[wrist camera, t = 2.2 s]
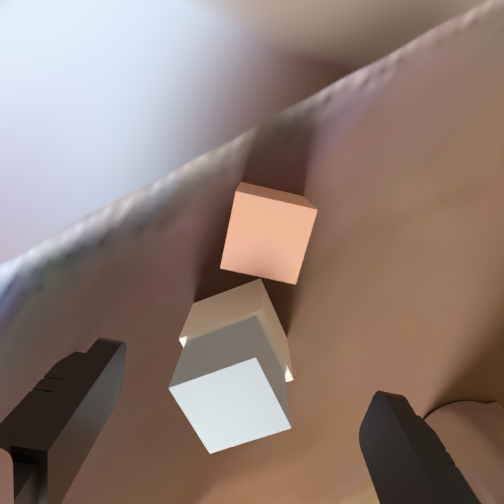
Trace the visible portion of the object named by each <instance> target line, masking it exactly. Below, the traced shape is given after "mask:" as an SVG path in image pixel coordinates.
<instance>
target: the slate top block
mask: <svg viewBox="0 0 504 504" xmlns="http://www.w3.org/2000/svg"><path fill="white" fill-rule="evenodd" d="M169 390H170V391H171V393H172V395H173V396H174V398H175V399H176V401H177V403H178V404H179V406H180V407H181V409H182V410H183V412H184V414H185V415H186V417H187V418H188V420H189V421H190V423H191V425H192V426H193V428H194V429H195V431H196V433H197V434H198V436H199V437H200V439H201V440H202V442H203V444H204V445H205V447H206V448H207V450H208V451H209V453H213V452H217V451H220V450H223V449H226V448H229V447H233V446H236V445H239V444H242V443H245V442H249V441H252V440H255V439H258V438H261V437H265V436H268V435H271V434H274V433H278V432H281V431H284V430H287V429H290V428H292V427H291V419H290V411H289V402H288V394H287V386H286V378H285V374H284V372H283V370H282V368H281V366H280V364H279V361H278V359H277V357H276V355H275V353H274V351H273V349H272V347H271V345H270V343H269V341H268V339H267V337H266V334H265V332H264V330H263V328H262V326H261V324H260V322H259V320H258V318H257V316H256V315H255V316H253V317H250V318H247V319H245V320H242V321H239V322H237V323H234V324H231V325H229V326H226V327H223V328H220V329H218V330H215V331H212V332H210V333H207V334H204V335H202V336H199V337H196V338H194V339H191V340H188V341H186V343H185V345H184V348H183V351H182V353H181V356H180V359H179V361H178V364H177V367H176V369H175V372H174V375H173V377H172V380H171V383H170V385H169Z"/></svg>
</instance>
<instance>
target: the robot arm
mask: <svg viewBox="0 0 504 504" xmlns="http://www.w3.org/2000/svg"><path fill="white" fill-rule="evenodd" d="M125 353H126V343H125V342H121V341H116V340H111V339H105V338H99V339H97V340H96V342H95V343H94V344H93V345H92V346H91V348H90V349H89V350H88V351H87V352H86V353H81V352H74V353H72V354H70V355H69V356H67V357H65V358H64V359H62V360H60V361H58V362H57V363H56V364H55V365H54V366H53V367H52V368H51V370H50V371H49V372H48V373H47V374H46V375H45V376H44V379H41V380H40V381H39V382H38V384H37V385H36V386H35V387H34V388H33V390H32V392H31V391H30V392H29V393H28V394H27V395H26V396H25V398H24V399H23V400H22V401H21V402H20V403H19V404H18V405H17V406H16V407H15V408H14V409H13V411H12V412H11V413H10V414H9V415H8V416H7V417H6V418H5V419H4V420H3V421H2V422H1V423H0V504H61V502H62V501H63V499H64V497H65V495H66V493H67V491H68V490H69V488H70V486H71V484H72V482H73V480H74V479H75V477H76V475H77V473H78V471H79V469H80V468H81V466H82V464H83V462H84V460H85V459H86V457H87V455H88V453H89V451H90V449H91V448H92V446H93V444H94V442H95V440H96V438H97V437H98V435H99V433H100V431H101V429H102V427H103V426H104V424H105V422H106V420H107V418H108V416H109V415H110V413H111V411H112V409H113V407H114V406H115V404H116V401H117V399H118V397H119V394H120V390H121V387H122V381H123V372H124V362H125ZM359 442H360V447H361V451H362V453H363V456H364V459H365V462H366V465H367V468H368V470H369V473H370V476H371V479H372V482H373V485H374V487H375V490H376V493H377V496H378V499H379V501H380V504H504V408H503V407H502V406H501V405H500V404H499V403H498V402H493V403H488V404H485V403H480V402H476V401H461V402H455V403H451V404H447V405H445V406H443V407H441V408H438V409H437V410H435V411H434V412H432V413H431V414H430V415H429V416H428V417H427V418H426V419H425V420H423V419H422V418H421V417H420V416H417V415H416V414H415V412H414V411H413V409H412V407H411V406H410V404H409V402H408V401H407V399H406V398H405V397H404V396H403V395H399V394H393V393H388V392H383V391H377V392H376V393H375V394H374V396H373V398H372V401H371V403H370V405H369V408H368V410H367V412H366V415H365V417H364V419H363V421H362V424H361V426H360V431H359Z"/></svg>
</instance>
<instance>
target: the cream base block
mask: <svg viewBox="0 0 504 504" xmlns="http://www.w3.org/2000/svg"><path fill="white" fill-rule="evenodd" d="M255 315H256V316H257V318H258V320H259V322H260V324H261V326H262V328H263V330H264V332H265V334H266V337H267V339H268V341H269V343H270V345H271V347H272V349H273V351H274V353H275V355H276V357H277V359H278V361H279V364H280V366H281V368H282V370H283V372H284V374H285V378H286V382H288V381H291V380H293V373H292V367H291V361H290V355H289V348H288V342H287V337H286V335H285V333H284V330H283V328H282V326H281V323H280V321H279V319H278V317H277V314H276V312H275V310H274V307H273V305H272V303H271V301H270V298H269V296H268V294H267V291H266V289H265V287H264V285H263V282H262V280H261V278H260V279H257V280H254V281H252V282H249V283H246V284H244V285H241V286H238V287H236V288H233V289H230V290H228V291H225V292H222V293H220V294H217V295H214V296H212V297H209V298H206V299H204V300H201V301H198V302H196V303H193V306H192V308H191V311H190V313H189V315H188V318H187V320H186V323H185V325H184V327H183V330H182V332H181V335H180V337H179V340H180V342H181V344H182V346H183V347H184V345H185V343H186V341H188V340H191V339H194V338H196V337H199V336H202V335H204V334H207V333H210V332H212V331H215V330H218V329H220V328H223V327H226V326H229V325H231V324H234V323H237V322H239V321H242V320H245V319H247V318H250V317H253V316H255Z"/></svg>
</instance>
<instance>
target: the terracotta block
mask: <svg viewBox="0 0 504 504" xmlns="http://www.w3.org/2000/svg"><path fill="white" fill-rule="evenodd" d="M316 214H317V209H316V208H315V207H314V206H313V205H312V204H311V203H310V202H309V201H308V200H307V199H306V198H305V197H304V196H301V195H297V194H292V193H288V192H284V191H279V190H275V189H270V188H266V187H262V186H257V185H253V184H249V183H244V182H240V184H239V186H238V188H237V190H236V192H235V197H234V202H233V207H232V212H231V217H230V222H229V227H228V232H227V236H226V241H225V246H224V251H223V256H222V261H221V266H220V269H225V270H230V271H234V272H239V273H244V274H249V275H253V276H258V277H263V278H267V279H272V280H277V281H282V282H286V283H291V284H296V282H297V279H298V275H299V272H300V268H301V265H302V262H303V258H304V255H305V251H306V248H307V245H308V241H309V238H310V234H311V231H312V227H313V224H314V221H315V217H316Z"/></svg>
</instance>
